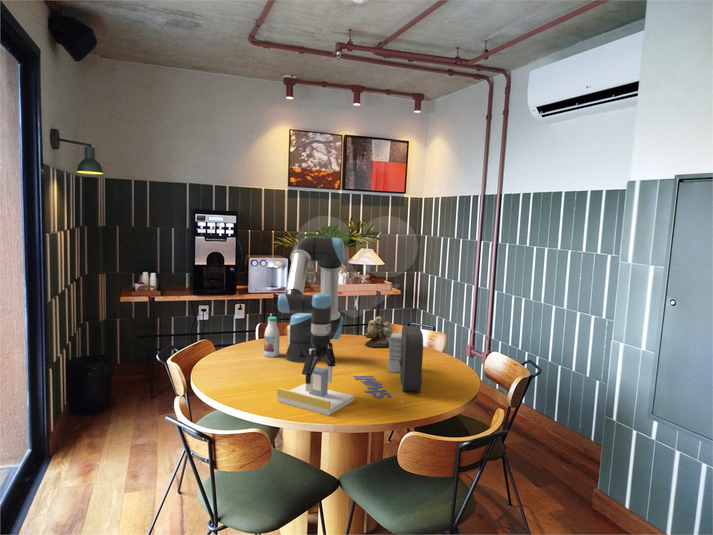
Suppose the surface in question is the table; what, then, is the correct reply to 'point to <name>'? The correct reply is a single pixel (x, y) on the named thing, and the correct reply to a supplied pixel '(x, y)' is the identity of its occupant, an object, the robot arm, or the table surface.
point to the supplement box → (394, 352)
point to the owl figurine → (378, 333)
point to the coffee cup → (288, 334)
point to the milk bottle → (271, 338)
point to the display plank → (314, 399)
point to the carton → (320, 382)
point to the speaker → (411, 358)
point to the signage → (375, 384)
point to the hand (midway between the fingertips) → (319, 386)
